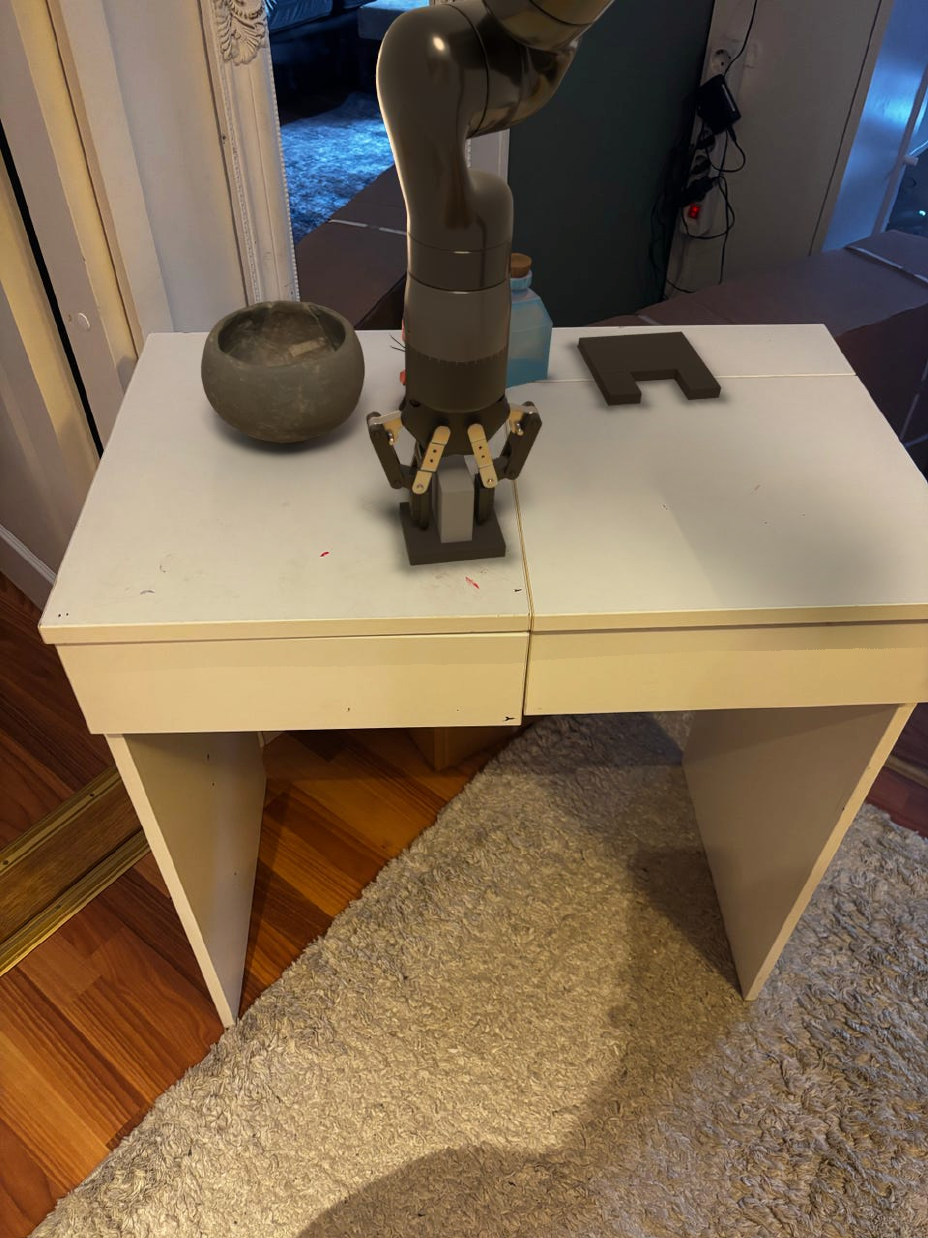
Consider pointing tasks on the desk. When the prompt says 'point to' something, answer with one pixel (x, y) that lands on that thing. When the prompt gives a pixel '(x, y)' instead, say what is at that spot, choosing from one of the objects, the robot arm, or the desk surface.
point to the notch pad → (646, 365)
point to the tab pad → (451, 552)
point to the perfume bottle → (526, 328)
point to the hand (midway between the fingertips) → (451, 517)
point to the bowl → (283, 370)
